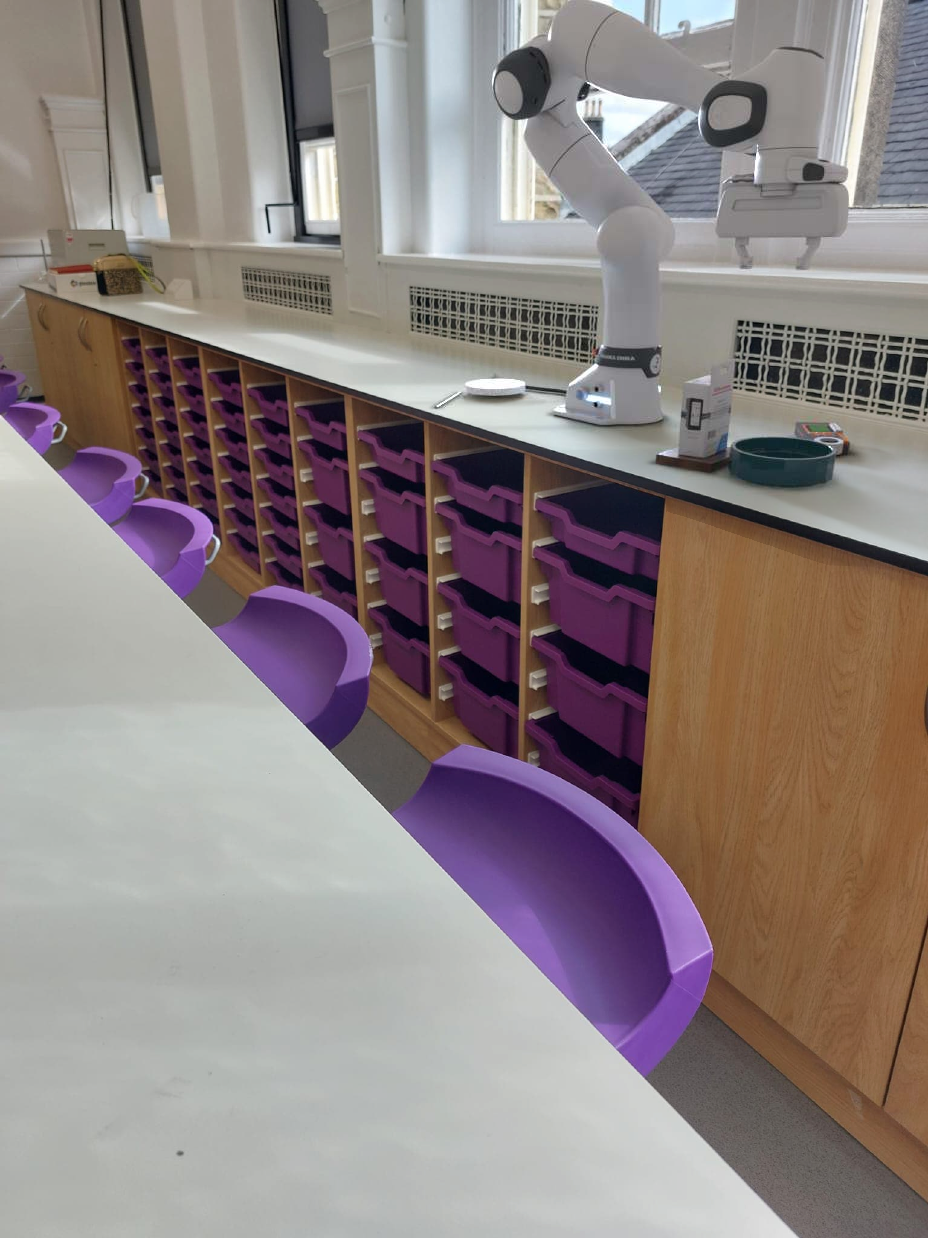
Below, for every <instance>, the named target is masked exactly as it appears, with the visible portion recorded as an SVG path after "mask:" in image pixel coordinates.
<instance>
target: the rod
mask: <svg viewBox="0 0 928 1238" xmlns="http://www.w3.org/2000/svg"><path fill="white" fill-rule="evenodd" d="M461 394H462V392H461V391H458V392H456V393H455V394H453V395H451V396H450V397H448V398H447V399H445V400H443V401H442V402H440V403H438V404H436V405H435V406H434V409H439V408H440V407H443V405H445V404H447V403H449V402H450V401H453V399H455V398H456V397H458V396H459V395H461Z"/></svg>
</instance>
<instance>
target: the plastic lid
mask: <svg viewBox="0 0 928 1238" xmlns="http://www.w3.org/2000/svg"><path fill="white" fill-rule="evenodd" d="M525 385H526V382H525V381H522V380H517V379H510V378H499V379H494V378H486V379H485V378H484V379H475V380H470V381H467V382H466V383H464V388H465V389H464V390H465V392H466V393H468V394H471V395H476V396H489V397H490V396H492V397H493V396H494V397H495V396H511V395H518V394H522V393H524V392H526V389H525Z"/></svg>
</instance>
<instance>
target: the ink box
mask: <svg viewBox="0 0 928 1238" xmlns="http://www.w3.org/2000/svg"><path fill="white" fill-rule="evenodd" d="M735 365H736V360H735V358H731V359H726V360H722V361H719V362H717V363H712V365H711V369H710V375H708V374H707V375H705V376H702V377H698V378H694V379H691V380H687V381H683V383H682V396H681V407H680V408H681V409H680V422H679V432H678V435H679V436H678V446H677V447H678V455H685V456H691V457H697V458H706V457H709V456H711V455H713V454H716V453H718V452H720V451H723V450H725V449H727V447H728V440H729V431H730V421H731V412H732V402H733V394H734V393H733V392H734V384H735V383H734V382H735ZM723 368H724V369H726V371H724V372H720V371H721V370H723Z"/></svg>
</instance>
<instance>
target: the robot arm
mask: <svg viewBox="0 0 928 1238" xmlns="http://www.w3.org/2000/svg"><path fill="white" fill-rule="evenodd" d="M491 81H492V82H491V84H492V93H493V97H494V100H495V102H496V105H497V106H498V107H499V109H500V111H501V112H502V113H503V114H504V116H506V117H508V119H511V120H514V121H524V120H525V122H524V125H523V131H522V135H523V140H524V143H525V145H526V147H527V148H528V151H530V154H531V156H532V157H533V159H534V160H535V163H536V164H537V165H538V167H539V168H540V170H541V171H542V173H543V174H544V176H545V177H546V178H547V179H548V180H549V182H550V183H551V184H552V186H553V187H554V188H555V189H556V191H558V193H559V194H560V195H561V197H563V199H564V201H566V203H567V204H568V205H569V206H570V207H571V209H572V210H573V211H574V213H576V214H577V216H579V217H581V218H582V219H583V220H584V221H586V223H587V224H589V225H590V226H591V227H592V228H593V229H594V230H596V231H597V232H596V233H597V234H596V240H595V241H596V250H597V252H598V254H599V259H600V273H601V279H602V280H601V281H602V289H603V290H602V291H603V301H604V302H603V304H604V306H603V307H604V309H603V311H604V312H603V333H602V334H603V335H602V337H603V338H602V344H601V345H600V346H599V347H597V348H594V349H593V348H592V349H590V351H591V352H592V353H591V354H590V356H591V357H592V356H595V359H594V362H593V363H594V364H592V366H590V367H589V368H587V369H586V370H585V371H584V372H582V373H581V374H580V375H578V376H577V377H576V378H574V379H573V380H572V381H571V382H570V383H569V385H568V386H567V389H561V388H553V387H543V386H534V385H528V384H527V385H526V384H525V390H530V391H538V392H545V393H546V392H547V393H555V394H556V393H557V394H564V395H565V398H564V399H565V400H564V404H562V405H559V406H556V407H555V408H554V409H553V415H555V416H559V417H564V418H568V419H573V420H576V421H581V422H584V423H585V422H586V423H589V424H595V425H599V426H611V425H643V424H649V423H657V422H659V421H661V420H663V419H664V417H663V412H662V406H661V398H660V397H661V396H660V393H661V386H660V385H659V383H660V382H659V381H660V379H659V376H660V373H661V367H662V366H661V365H662V354H663V352H662V349H663V347H662V345H661V336H662V335H661V334H662V333H661V332H662V322H663V321H662V320H663V307H664V303H663V302H664V301H663V299H662V298H663V297H662V292H661V280H660V279H661V278H660V264H661V263H662V262H663V261H664V260H665V259H666V258H667V257H668V256H669V255H670V254H671V251H672V249H673V247H674V244H675V239H676V229H675V225H674V223H673V221H672V219H671V218H670V216H669V215H668V214H667V213H666V212H665V211H664V210H663V208H662V207H661V206H660V205H659V204H658V203H657V202H656V201H655V200H654V199H653V198H652V197H651V196H650V195H649V193H647V191H646V190H645V189H644V188H643V187H642V186H641V185H640V184H639V183H638V182H637V181H636V180H635V179H634V178H633V177H632V176H631V175H630V174H628V172H627V171H626V170H625V169H623V167H622V166H621V165H620V163H619V162H618V161H617V160H616V159H615V158H614V156H613V155H612V154H611V153H610V151H609V150H608V149H607V147H606V146H605V145H604V144H603V143H602V141H600V139H599V138H598V137H597V136H596V134H595V133H594V132H593V131H592V130H591V129H590V127H589V126H588V124H587V123H585V121H584V120H583V119H582V117H581V115H580V114H579V110H578V102H582V101H584V100H587V98H588V96H589V94H590V91H591V90H590V89H591V86H592V87H595V88H596V89H598V90H600V91H603V92H605V93H608V94H611V95H615V96H619V97H624V98H627V99H635V100H643V101H654V102H661V103H667V104H672V105H676V106H679V107H682V108H684V109H686V110H688V111H690V112H692V113H694V114H697V116H698V129H699V132H700V135H701V137H702V139H703V141H705V142H706V143H707V144H708V145H709V146H711V147H713V148H715V149H716V150H717V149H718V150H721V151H727V152H732V153H742V154H745V155H748V156H751V157H755V158H756V159H755V165H754V166H755V167H754V173H746V174H732V175H730V176H729V177H728V178H726V179H725V180H724V181H723V183H722V184H721V186H720V193H719V194H720V195H719V200H720V202H719V206H718V210H717V214H716V221H715V228H714V232H715V233H716V236H717V237H718V238H719V239H734V247H735V250H736V253H737V254H738V257H739V265H738V268H739V270H751V269H753V265H754V264H753V262H754V256H750V255H749V253H748V249H747V247H746V246H749V245H750V239H751V238H752V239H753V238H758V239H759V238H761V239H763V238H805V243H804V244H805V246H808V247H807V248H806V250H805V252H804V253H803V255H802V256H801V257H800V256H799V257H796V261H795V262H796V264H795V270H796V271H807V270H809V269H810V265H811V258H812V257H813V256H814V254H815V253H816V251H817V250H818V248H819V247H820V246H821V239H822V238H839V237H841V236H842V235H843V234H844V233H845V232H846V230H847V227H848V220H849V210H850V194H849V190H848V188H847V186H846V185H845V184H843V183H846V181H847V180H848V177H849V169H848V167H847V166H844V165H841V164H837V163H834V162H830V161H829V160H827V159H821V158H819V149H820V142H819V128H820V124H821V123H822V120H823V116H824V111H825V104H826V103H825V101H826V91H827V63H826V59H825V58H824V56H823V55H822V54H821V53H819V52H818V51H816V50H813V49H810V48H804V47H799V46H782V47H778V48H775V49H773V50H772V51H771V52H770V53H769V55H768V56H767V57H766V58H765V59H764V60H762V61H761V62H760V63H758V64H756V65H755V66H754V67H752V68H750V69H748V70H747V71H745V72H743V73H741V74H739V75H736V76H735V77H732V78H728V77H726V76H723V75H722V74H719V73H717V72H715V71H713V70H711V69H708V68H707V67H704V66H702V65H700V64H699V63H697V62H695V61H694V60H692V59H691V58H689V57H687V56H686V55H685V54H683V53H682V52H681V51H680V50H678V49H677V48H676V47H674V46H673V45H672V44H670V43H669V42H668V41H667V40H665V39H664V38H663V37H662V36H661V35H659V34H658V33H657V32H655V30H654V29H652V28H651V27H649V26H648V25H646V24H645V23H643V22H642V21H640V20H639V19H638V18H636V17H634V16H632V15H631V14H629V13H627V12H625V11H623V10H620V9H618V8H616V7H614V6H611V5H609V4H606V3H603V2H600V1H595V0H567V1H566V2H565V3H563V4H562V5H561V6H560V7H559V8H558V9H557V11H556V13H555V14H554V16H553V18H552V20H551V23H550V26H549V30H547V31H544V32H543V33H540V34H538V35H536V36H534V37H533V38H531V40H529V41H528V42H526V43H524V44H523V45H522V46H520V47H519V48H517V49H515V50H511V51H510V52H509V53H508V54H506V55H505V56H504V57H503V58H502V59H501V60H500V61H499V62H498V64H497V65H496V66H495V68H494V71H493V74H492V80H491ZM493 379H500V378H499V377H498V373H494V374H493Z"/></svg>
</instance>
